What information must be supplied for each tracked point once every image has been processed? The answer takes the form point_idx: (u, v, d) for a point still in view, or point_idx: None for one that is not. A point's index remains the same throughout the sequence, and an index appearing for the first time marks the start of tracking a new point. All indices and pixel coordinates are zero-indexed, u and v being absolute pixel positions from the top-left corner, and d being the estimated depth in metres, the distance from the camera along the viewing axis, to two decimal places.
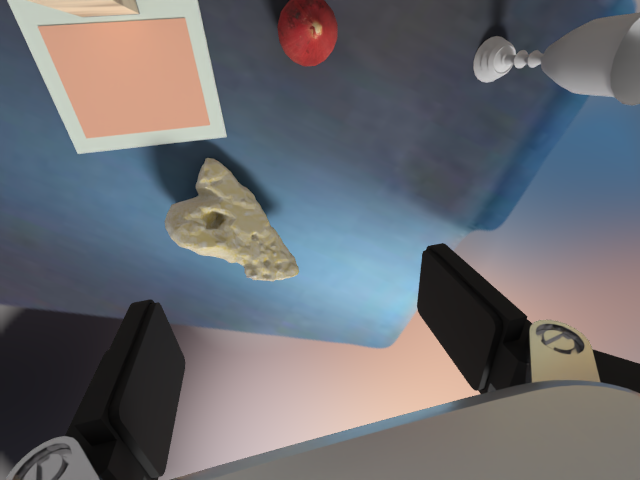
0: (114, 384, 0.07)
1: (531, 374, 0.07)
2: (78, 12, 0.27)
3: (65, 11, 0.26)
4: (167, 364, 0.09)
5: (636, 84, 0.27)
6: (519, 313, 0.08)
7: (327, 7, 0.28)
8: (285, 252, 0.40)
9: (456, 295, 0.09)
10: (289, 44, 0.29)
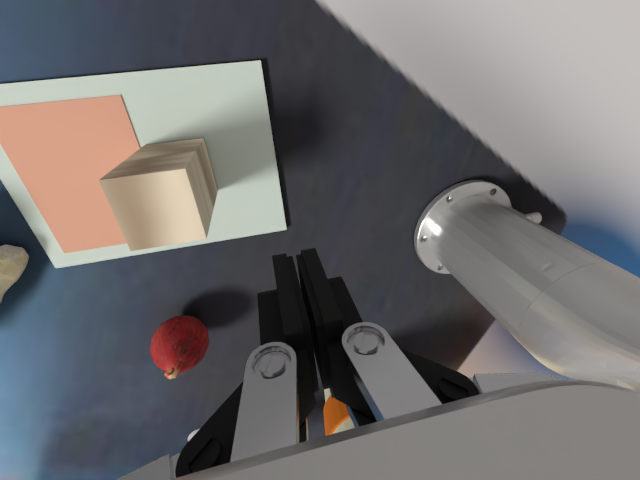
0: (298, 307, 0.09)
1: (370, 394, 0.07)
2: None
3: None
4: None
5: None
6: (338, 315, 0.08)
7: (197, 363, 0.34)
8: None
9: (307, 298, 0.10)
10: (160, 342, 0.32)
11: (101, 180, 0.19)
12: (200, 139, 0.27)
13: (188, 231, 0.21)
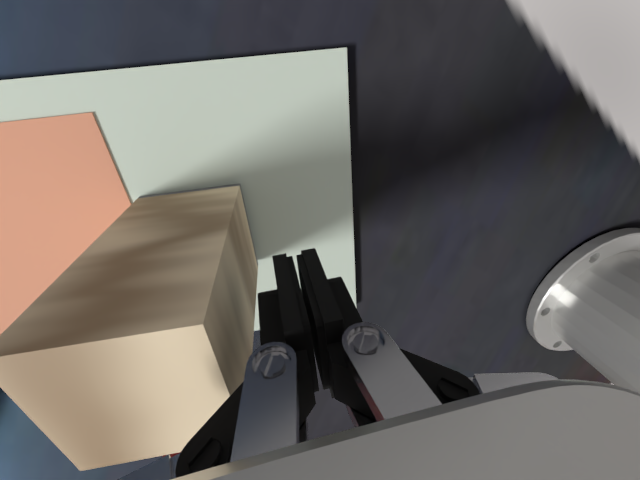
0: (298, 307, 0.09)
1: (370, 394, 0.07)
2: None
3: None
4: None
5: None
6: (338, 316, 0.08)
7: None
8: None
9: (307, 298, 0.10)
10: None
11: None
12: (234, 189, 0.15)
13: None
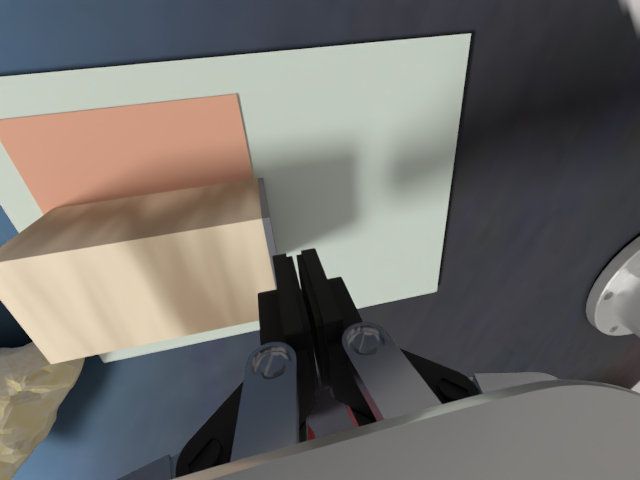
0: (298, 307, 0.09)
1: (370, 394, 0.07)
2: None
3: None
4: None
5: None
6: (338, 315, 0.08)
7: None
8: None
9: (307, 298, 0.10)
10: None
11: (51, 210, 0.15)
12: (248, 218, 0.12)
13: None
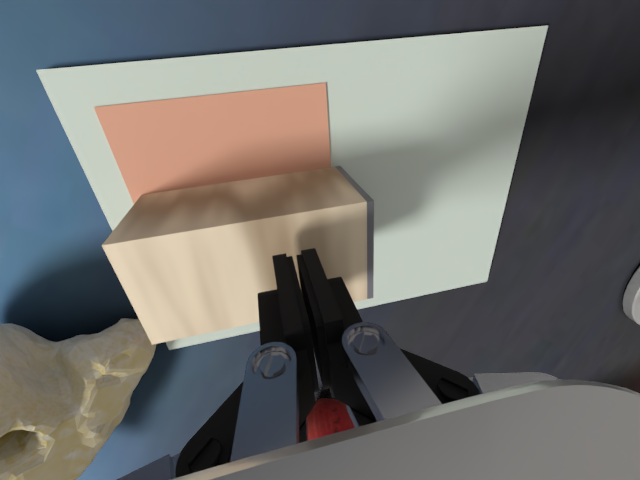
0: (298, 307, 0.09)
1: (370, 394, 0.07)
2: None
3: None
4: None
5: None
6: (338, 315, 0.08)
7: None
8: None
9: (307, 298, 0.10)
10: None
11: (141, 196, 0.15)
12: (352, 201, 0.12)
13: None
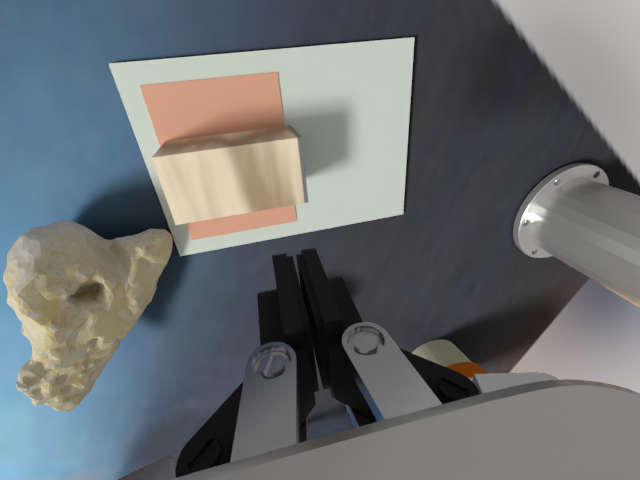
0: (298, 307, 0.09)
1: (370, 394, 0.07)
2: None
3: None
4: None
5: None
6: (338, 316, 0.08)
7: None
8: (93, 377, 0.28)
9: (307, 298, 0.10)
10: None
11: (165, 142, 0.24)
12: (289, 138, 0.22)
13: None
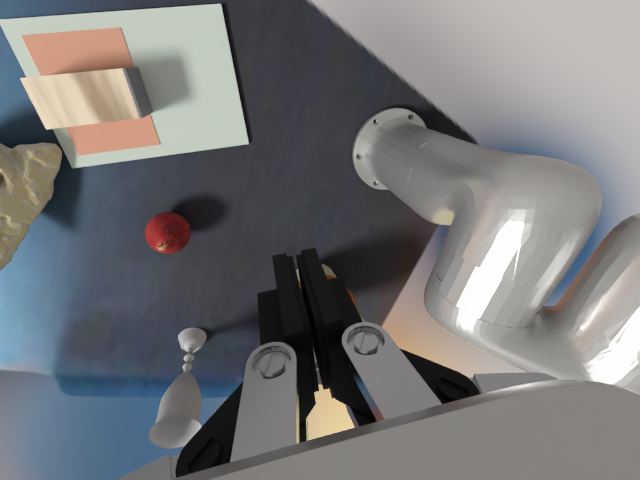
0: (298, 307, 0.09)
1: (370, 394, 0.07)
2: None
3: None
4: None
5: (167, 432, 0.46)
6: (338, 315, 0.08)
7: (181, 247, 0.44)
8: (9, 251, 0.39)
9: (307, 298, 0.10)
10: (152, 225, 0.42)
11: None
12: None
13: None
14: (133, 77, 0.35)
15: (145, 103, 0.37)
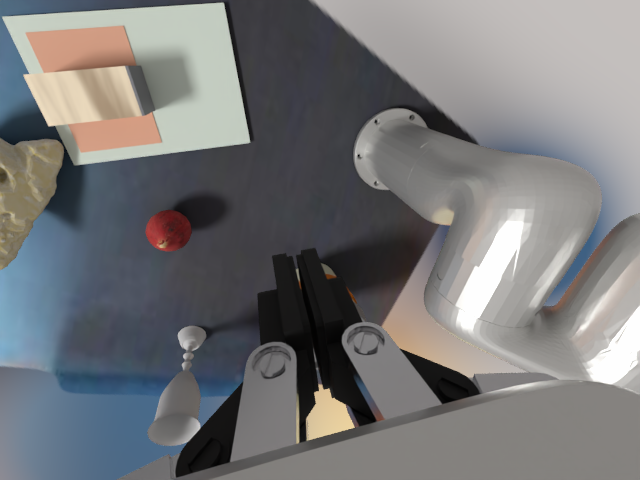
0: (298, 307, 0.09)
1: (370, 394, 0.07)
2: None
3: None
4: None
5: (165, 430, 0.46)
6: (338, 316, 0.08)
7: (182, 244, 0.44)
8: (14, 247, 0.39)
9: (307, 298, 0.10)
10: (153, 223, 0.42)
11: None
12: (120, 66, 0.33)
13: None
14: (136, 75, 0.35)
15: (147, 101, 0.37)
